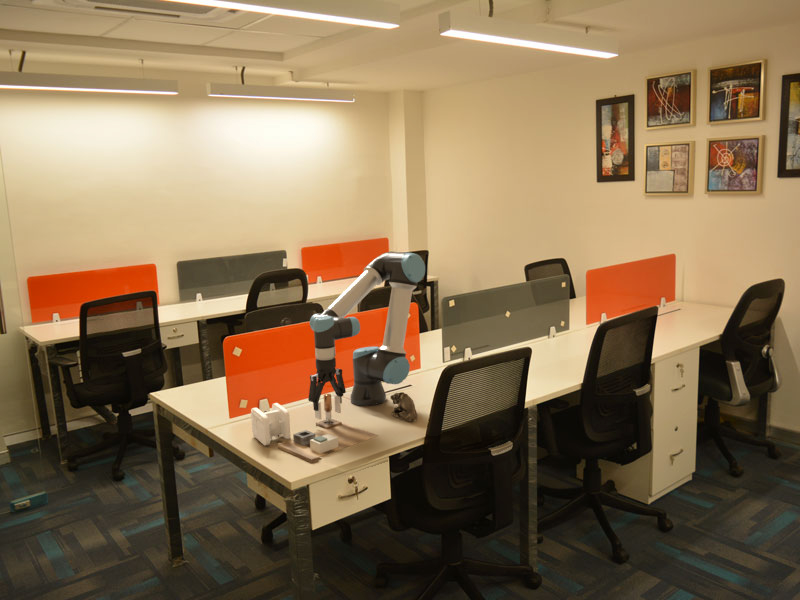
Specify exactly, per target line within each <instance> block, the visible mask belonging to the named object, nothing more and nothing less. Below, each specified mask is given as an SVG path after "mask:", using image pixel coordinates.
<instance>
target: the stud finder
mask: <svg viewBox="0 0 800 600" xmlns="http://www.w3.org/2000/svg"><path fill="white" fill-rule="evenodd" d="M337 447H338V437H335V436H333V435H330V434H326V435H323V436H318V437H315V438H313V439H311V440H310V450H313V451H315V452H317V453H323V452H326V451H329V450H332V449H335V448H337Z"/></svg>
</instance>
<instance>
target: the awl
mask: <svg viewBox="0 0 800 600" xmlns="http://www.w3.org/2000/svg"><path fill="white" fill-rule="evenodd" d="M332 404H333V403H332V393H325V394H323V407H324V409H323V410H324V411H325V420H326V424H331V423H332V419H333V418H332V411H333V409H332V408H333V406H332Z"/></svg>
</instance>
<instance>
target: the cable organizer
mask: <svg viewBox="0 0 800 600" xmlns="http://www.w3.org/2000/svg"><path fill="white" fill-rule="evenodd" d="M271 407H272V408H271V409H272V410H270V411H265V412H263V411H262V410H261V409H259V408H258V407H252V408H251V409H250V416H251V418H250V419H251V430H252V434H253V436H254V437H255V438H256V439H257V440H258V442H260V443H261V444H262V445H263V446H269V445H270V444H271V442H272V441H273V437H275V436H278V437H279V439H281V438H284V439H285V440H290V439H291V435H292V434H291V423H290V419H291V418H290V413H289V411H288V410H287V409H286V407H284V406H282V405H281V404H280V403H278V402H275V403H272V405H271Z"/></svg>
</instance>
